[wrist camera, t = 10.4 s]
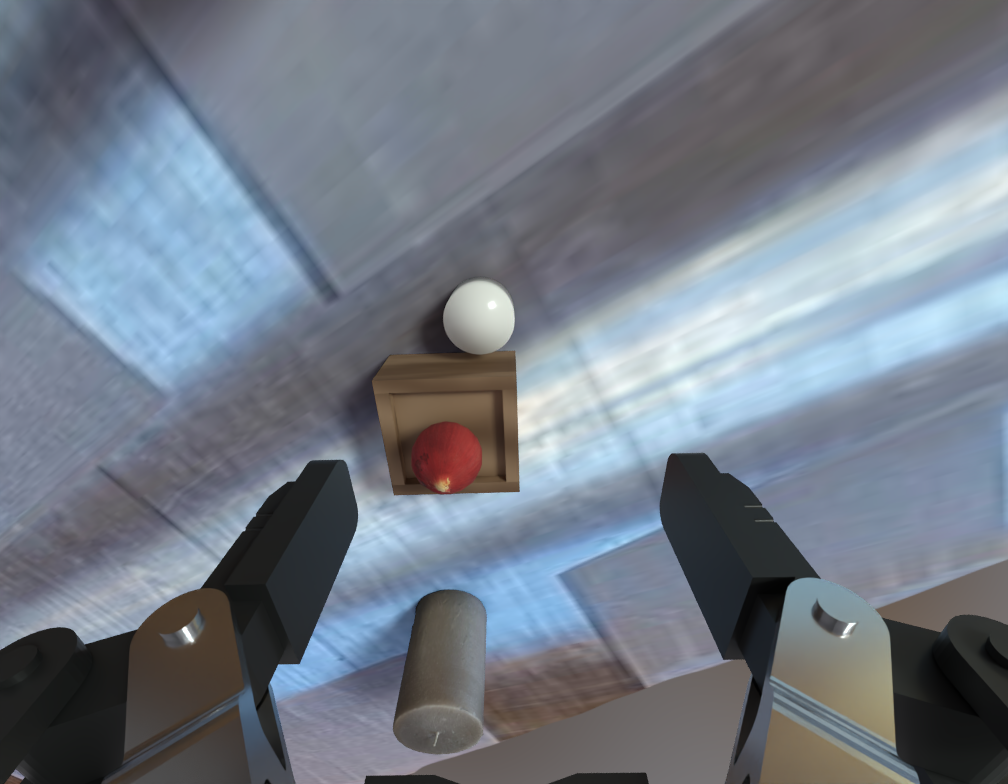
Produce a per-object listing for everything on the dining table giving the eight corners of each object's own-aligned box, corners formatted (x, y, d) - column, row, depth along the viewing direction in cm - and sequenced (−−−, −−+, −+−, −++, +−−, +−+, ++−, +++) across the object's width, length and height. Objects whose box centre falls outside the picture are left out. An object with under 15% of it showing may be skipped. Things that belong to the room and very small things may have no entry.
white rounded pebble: (445, 278, 37) (439, 286, 34) (513, 275, 37) (513, 283, 34) (451, 342, 40) (446, 355, 36) (514, 340, 39) (515, 353, 36)
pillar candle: (403, 620, 57) (373, 755, 43) (437, 578, 53) (414, 711, 40) (465, 643, 59) (454, 778, 46) (501, 605, 56) (501, 739, 42)
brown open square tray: (389, 355, 40) (371, 380, 35) (515, 350, 40) (516, 376, 34) (407, 458, 45) (393, 495, 40) (518, 455, 45) (519, 491, 40)
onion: (435, 466, 40) (419, 528, 32) (409, 416, 37) (386, 470, 30) (493, 449, 39) (489, 509, 31) (470, 397, 36) (461, 448, 29)
